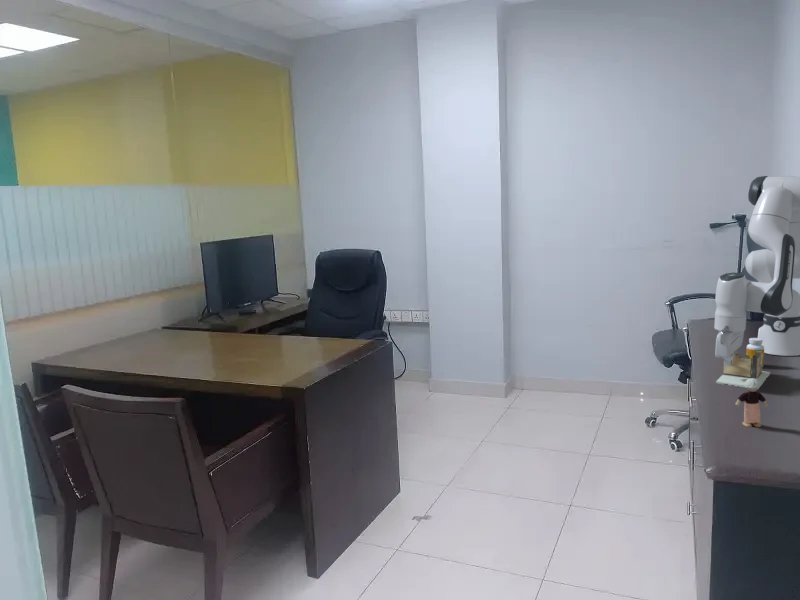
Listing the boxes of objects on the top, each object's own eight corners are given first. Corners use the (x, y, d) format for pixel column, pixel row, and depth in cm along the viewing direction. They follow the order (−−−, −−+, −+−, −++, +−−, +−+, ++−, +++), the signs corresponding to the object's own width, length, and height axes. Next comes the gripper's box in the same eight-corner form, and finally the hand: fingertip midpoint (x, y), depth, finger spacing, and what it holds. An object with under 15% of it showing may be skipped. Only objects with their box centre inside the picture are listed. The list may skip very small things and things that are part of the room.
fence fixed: (756, 371, 205) (757, 350, 203) (761, 372, 204) (762, 350, 202) (750, 378, 197) (751, 356, 196) (756, 378, 196) (757, 356, 195)
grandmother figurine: (759, 421, 162) (762, 375, 160) (768, 426, 158) (771, 379, 156) (731, 423, 162) (733, 377, 160) (739, 428, 158) (742, 381, 156)
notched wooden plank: (751, 375, 198) (752, 355, 197) (750, 377, 197) (751, 356, 196) (724, 372, 204) (725, 352, 203) (723, 373, 203) (724, 353, 202)
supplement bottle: (754, 368, 210) (755, 341, 208) (742, 365, 215) (743, 338, 213) (767, 367, 211) (768, 339, 210) (754, 363, 216) (755, 336, 215)
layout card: (730, 368, 211) (730, 367, 211) (770, 373, 203) (770, 371, 203) (715, 383, 196) (715, 381, 196) (758, 389, 188) (758, 387, 188)
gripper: (733, 331, 185) (731, 375, 187) (748, 318, 200) (746, 359, 203) (710, 329, 189) (709, 372, 191) (726, 317, 204) (725, 357, 207)
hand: (728, 365), depth 197 cm, fingers closed
